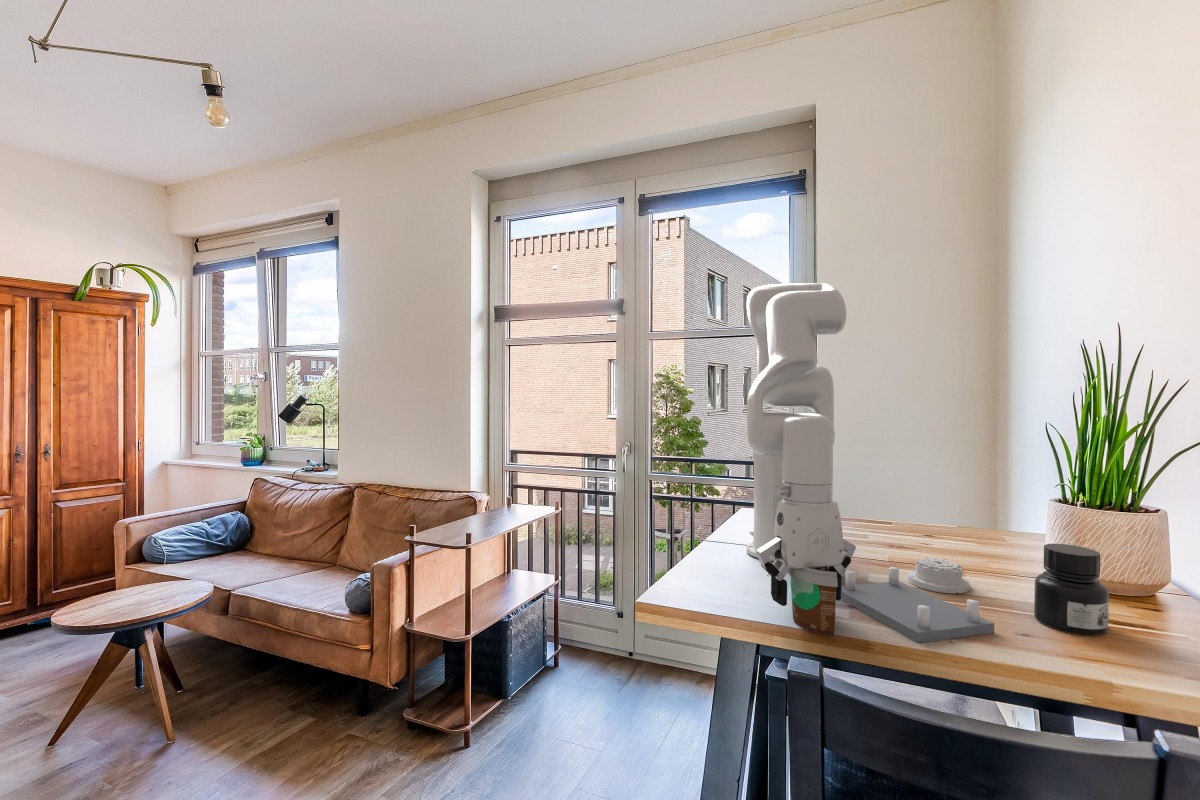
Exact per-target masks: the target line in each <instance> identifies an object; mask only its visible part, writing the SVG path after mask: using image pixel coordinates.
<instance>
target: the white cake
mask: <svg viewBox="0 0 1200 800" xmlns="http://www.w3.org/2000/svg"><path fill="white" fill-rule="evenodd" d="M962 568H963V566H962V565H961V564H959V563H958V562H953V561H951V560H949V559H942V558H937V557H924V558H917V560H915V570H914V569H913V570H911V571H909V572H908V576H907V580H908V582H909V583H911V584H912V585H913V586H915V587H918V588H921V589H924V590H927V591H931V592H937V593H942V594H956V593H958V594H965V593H968V592H969V591H970V589H971V583H970V581H969V580H968V579H966V578H964V577H963V569H962Z"/></svg>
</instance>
